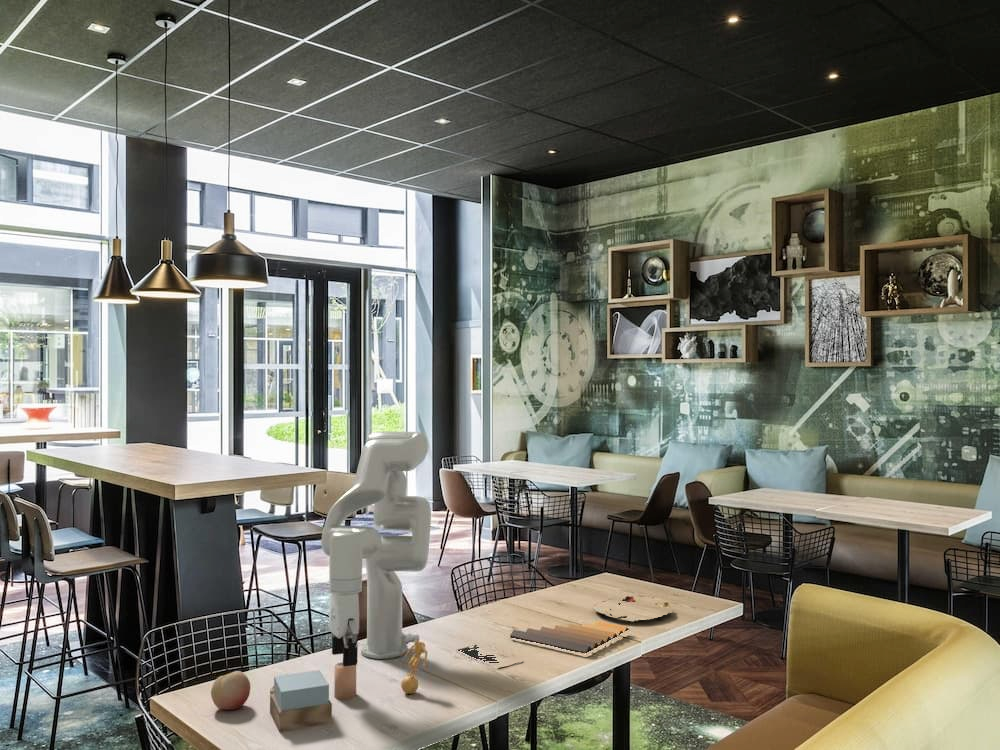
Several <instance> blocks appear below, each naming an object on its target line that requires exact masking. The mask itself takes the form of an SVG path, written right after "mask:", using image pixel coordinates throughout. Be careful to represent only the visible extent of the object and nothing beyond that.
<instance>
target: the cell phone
mask: <svg viewBox="0 0 1000 750" xmlns="http://www.w3.org/2000/svg"><path fill="white" fill-rule="evenodd" d="M476 646H477V644H474V647H473V648H469V647H470V646H466V647H463V648H460V649H459V648H458V649H457V650H458V651H460V650H462V651H461V652H463V651H464V652H463V653H465V654H467V655H469V656H471V657H474V658H476V659H480V660H482V659H486V660H483V661H484V662H485V661H497V660H495V659H492V658H496V657H487V656H494V655H486V656H478V652H479V651H477V650H475V649H477V648H479V647H476ZM470 649H474V650H471V651H468V650H470ZM480 655H482V654H480ZM479 657H484V658H479ZM489 663H499V662H489Z"/></svg>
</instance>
